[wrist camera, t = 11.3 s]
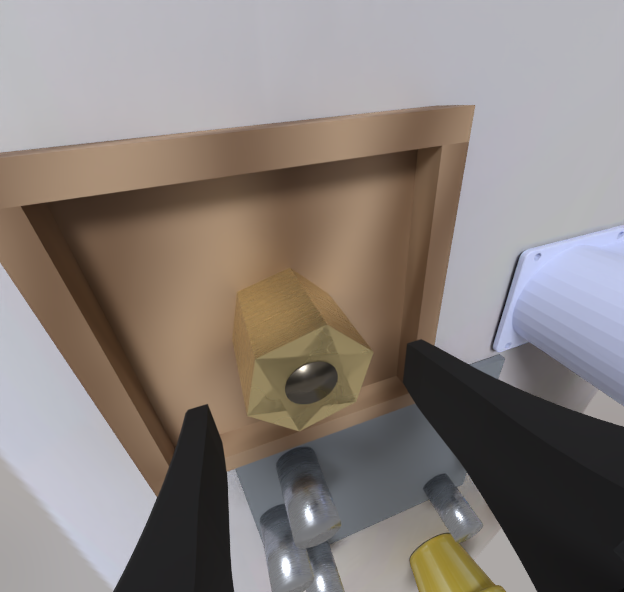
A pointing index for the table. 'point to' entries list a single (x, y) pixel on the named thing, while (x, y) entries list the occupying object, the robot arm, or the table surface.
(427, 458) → the mat
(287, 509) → the spacers
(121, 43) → the table surface
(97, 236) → the tray
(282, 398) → the nut
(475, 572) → the plant pot
